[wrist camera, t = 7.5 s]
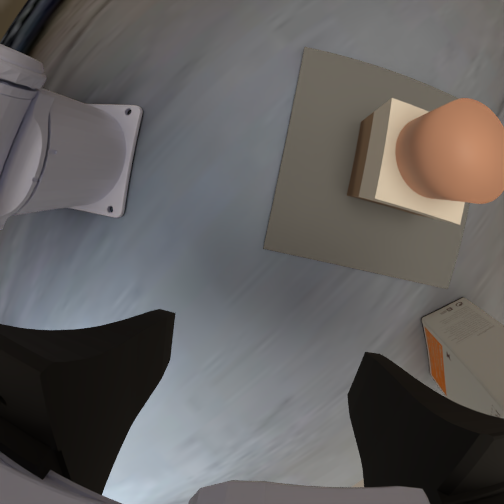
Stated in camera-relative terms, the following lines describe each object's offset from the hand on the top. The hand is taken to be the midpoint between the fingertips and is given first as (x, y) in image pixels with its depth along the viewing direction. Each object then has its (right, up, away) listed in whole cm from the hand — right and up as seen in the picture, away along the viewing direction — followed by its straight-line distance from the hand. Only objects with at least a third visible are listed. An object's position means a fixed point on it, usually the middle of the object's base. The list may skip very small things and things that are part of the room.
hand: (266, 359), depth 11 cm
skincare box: (+15, -3, +10) cm, 18 cm away
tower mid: (+8, +9, +5) cm, 13 cm away
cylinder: (+8, +8, +2) cm, 12 cm away
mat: (+8, +9, +8) cm, 15 cm away
